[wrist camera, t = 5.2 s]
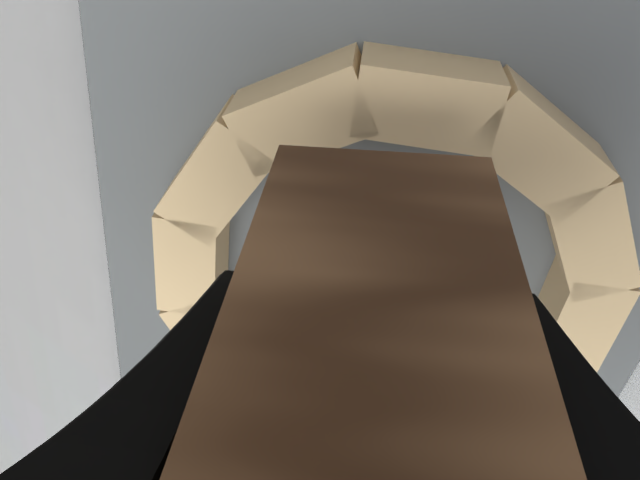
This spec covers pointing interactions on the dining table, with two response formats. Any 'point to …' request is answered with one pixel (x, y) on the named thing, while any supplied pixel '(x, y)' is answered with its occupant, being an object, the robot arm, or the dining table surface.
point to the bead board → (264, 34)
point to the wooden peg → (377, 333)
